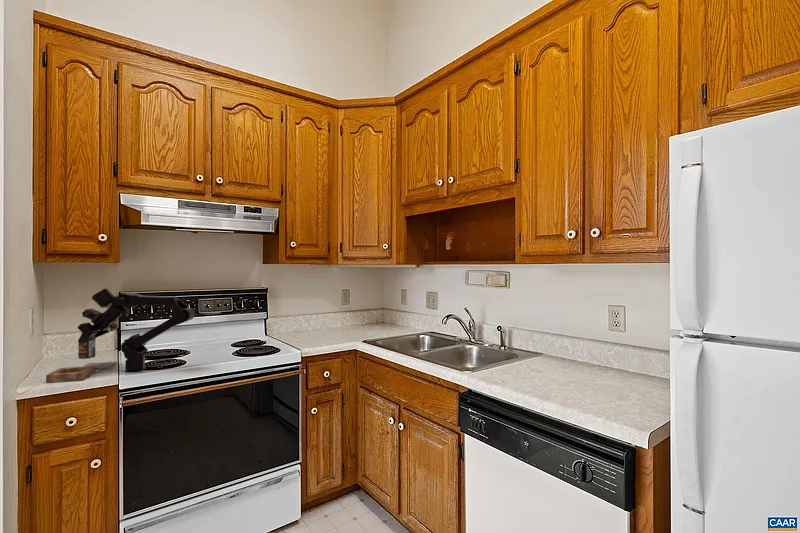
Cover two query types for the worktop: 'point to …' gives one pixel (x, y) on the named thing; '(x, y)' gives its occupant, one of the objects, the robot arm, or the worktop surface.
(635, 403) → the worktop surface
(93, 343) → the pill bottle
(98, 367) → the rubber mat
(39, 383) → the worktop surface
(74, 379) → the bottle holder
